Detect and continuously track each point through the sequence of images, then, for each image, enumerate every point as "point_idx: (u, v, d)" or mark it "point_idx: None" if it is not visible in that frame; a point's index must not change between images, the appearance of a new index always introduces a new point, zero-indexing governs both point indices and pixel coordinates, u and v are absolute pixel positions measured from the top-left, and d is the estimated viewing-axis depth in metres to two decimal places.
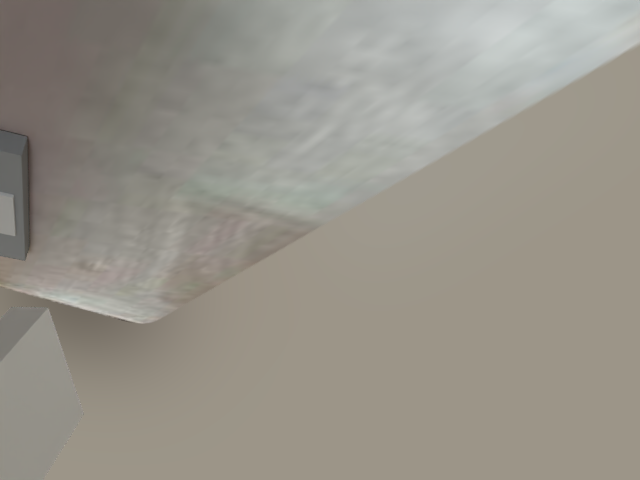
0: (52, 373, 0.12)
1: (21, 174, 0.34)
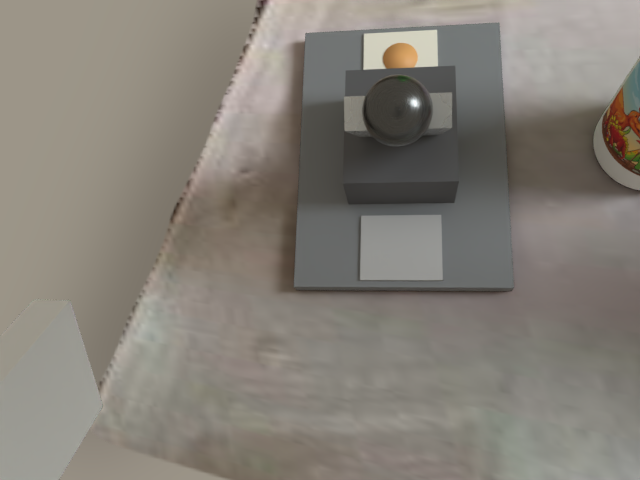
0: (74, 365, 0.12)
1: (482, 287, 0.44)
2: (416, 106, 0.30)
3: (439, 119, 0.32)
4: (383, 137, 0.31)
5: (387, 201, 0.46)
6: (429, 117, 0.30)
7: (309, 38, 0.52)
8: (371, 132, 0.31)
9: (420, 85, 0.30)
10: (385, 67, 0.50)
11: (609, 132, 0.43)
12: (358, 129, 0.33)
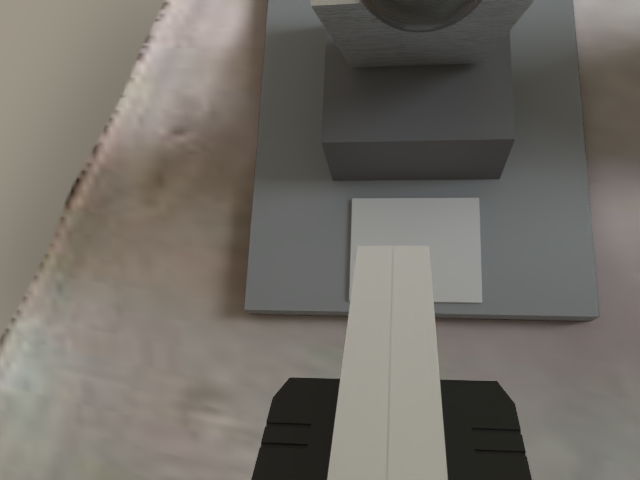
0: None
1: (547, 314, 0.27)
2: None
3: None
4: (393, 3, 0.14)
5: (392, 175, 0.29)
6: None
7: None
8: None
9: None
10: None
11: None
12: (339, 1, 0.15)
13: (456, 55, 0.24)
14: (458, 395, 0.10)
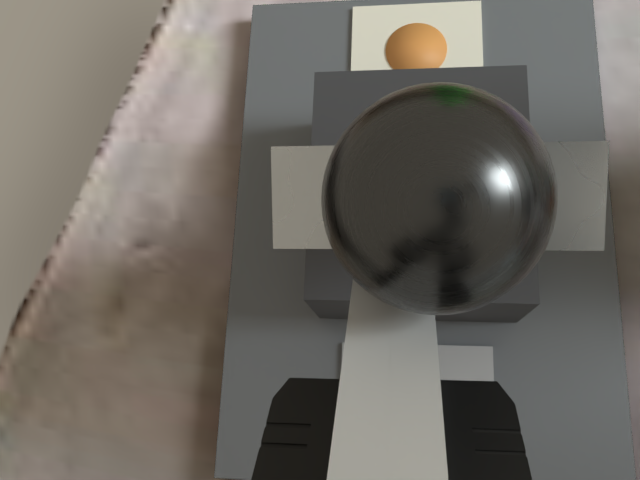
0: None
1: None
2: (513, 200, 0.08)
3: (564, 223, 0.10)
4: (390, 297, 0.09)
5: None
6: (550, 231, 0.09)
7: (259, 14, 0.30)
8: (350, 273, 0.09)
9: (522, 121, 0.09)
10: (390, 65, 0.28)
11: None
12: (313, 245, 0.11)
13: None
14: (458, 395, 0.10)
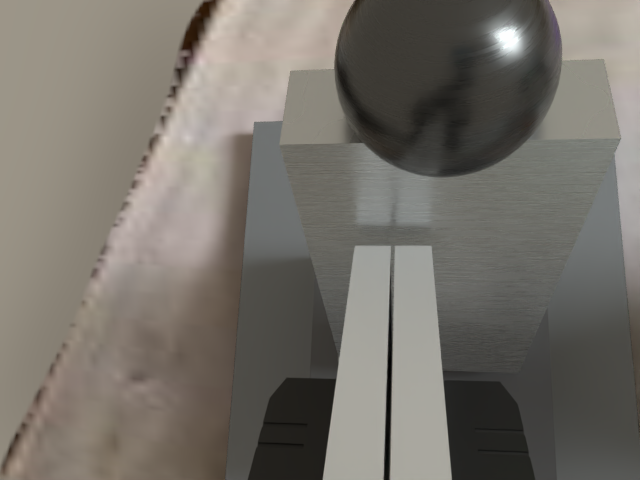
0: None
1: None
2: None
3: (575, 118, 0.10)
4: (400, 85, 0.09)
5: None
6: (557, 47, 0.09)
7: (260, 132, 0.29)
8: (359, 88, 0.09)
9: None
10: None
11: None
12: (321, 140, 0.11)
13: (483, 345, 0.18)
14: (461, 395, 0.10)
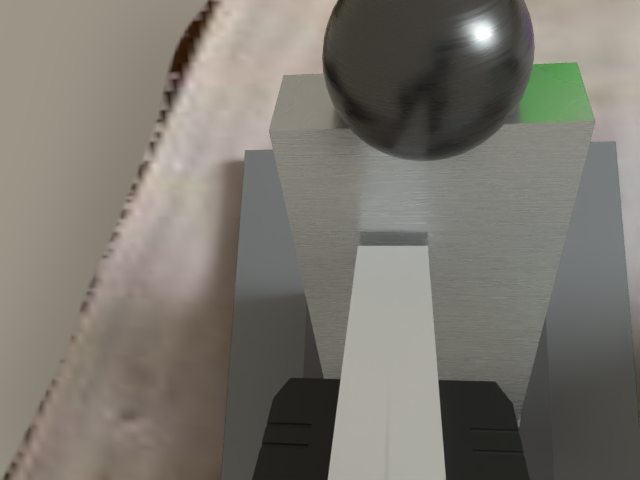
0: None
1: None
2: None
3: (551, 107, 0.11)
4: (380, 51, 0.09)
5: None
6: (528, 27, 0.10)
7: (252, 161, 0.28)
8: (343, 61, 0.10)
9: None
10: None
11: None
12: (309, 126, 0.11)
13: None
14: (456, 395, 0.10)
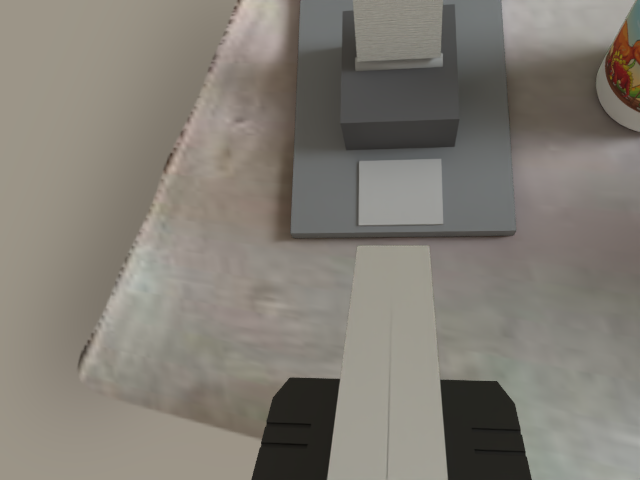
0: None
1: (484, 230, 0.43)
2: None
3: None
4: None
5: (385, 145, 0.45)
6: None
7: None
8: None
9: None
10: None
11: (613, 69, 0.42)
12: None
13: (421, 27, 0.40)
14: (458, 395, 0.10)
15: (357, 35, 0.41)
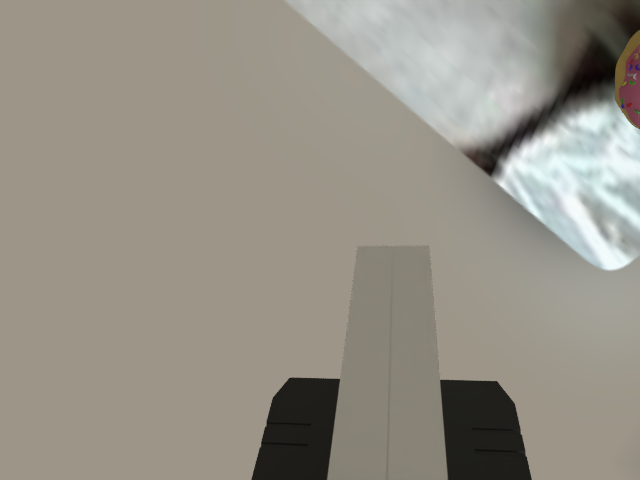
0: None
1: None
2: None
3: None
4: None
5: None
6: None
7: None
8: None
9: None
10: None
11: None
12: None
13: None
14: (458, 395, 0.10)
15: None
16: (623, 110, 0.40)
